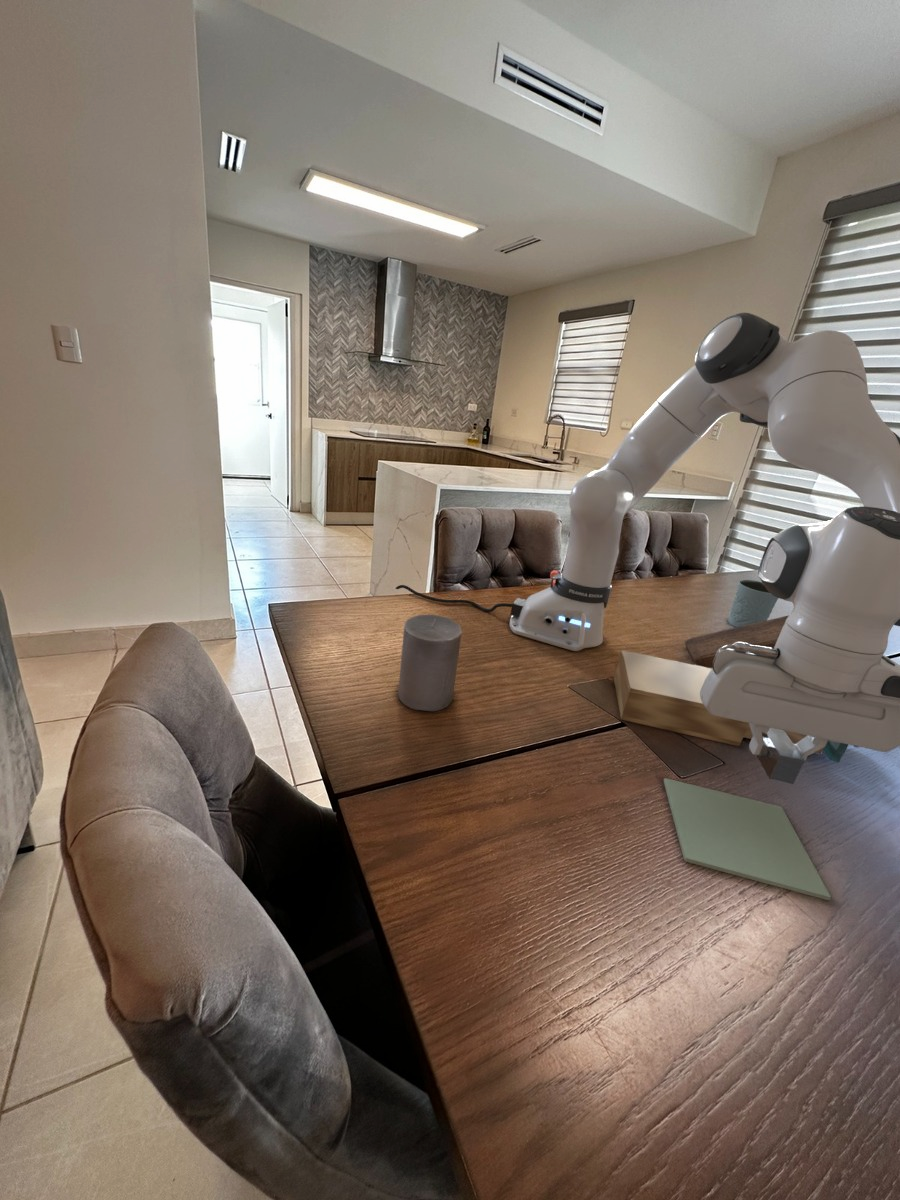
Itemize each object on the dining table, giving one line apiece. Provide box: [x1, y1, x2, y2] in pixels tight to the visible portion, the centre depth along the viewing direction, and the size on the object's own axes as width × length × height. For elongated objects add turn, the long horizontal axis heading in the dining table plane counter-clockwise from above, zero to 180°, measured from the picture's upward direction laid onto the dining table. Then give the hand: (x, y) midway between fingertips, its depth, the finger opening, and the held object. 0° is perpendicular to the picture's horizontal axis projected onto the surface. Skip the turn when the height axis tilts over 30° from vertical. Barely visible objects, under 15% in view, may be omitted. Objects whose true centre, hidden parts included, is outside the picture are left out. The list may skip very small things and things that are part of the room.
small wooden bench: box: [684, 614, 790, 668], centre depth 106 cm, size 10×16×30 cm
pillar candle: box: [397, 614, 463, 712], centre depth 80 cm, size 10×10×15 cm
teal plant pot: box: [727, 579, 779, 628], centre depth 130 cm, size 10×10×12 cm
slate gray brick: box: [755, 728, 806, 785], centre depth 57 cm, size 3×6×4 cm, turn 167°
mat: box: [663, 777, 832, 901], centre depth 62 cm, size 16×14×1 cm
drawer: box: [743, 725, 859, 763], centre depth 84 cm, size 23×13×5 cm, turn 77°
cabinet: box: [613, 649, 749, 747], centre depth 87 cm, size 20×15×7 cm
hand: (774, 756), depth 57 cm, fingers closed on slate gray brick, 2 cm apart
